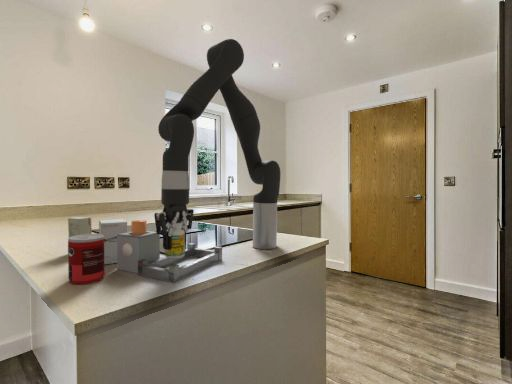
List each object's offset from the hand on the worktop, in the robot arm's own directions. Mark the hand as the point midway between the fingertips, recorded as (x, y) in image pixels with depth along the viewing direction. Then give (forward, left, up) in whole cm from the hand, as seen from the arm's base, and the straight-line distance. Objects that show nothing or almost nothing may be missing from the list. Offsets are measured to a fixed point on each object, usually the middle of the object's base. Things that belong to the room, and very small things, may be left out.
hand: (175, 246), depth 79 cm
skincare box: (+1, -40, -7) cm, 40 cm away
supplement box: (+2, -23, -7) cm, 24 cm away
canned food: (+16, -15, -7) cm, 23 cm away
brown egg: (+3, -11, 0) cm, 11 cm away
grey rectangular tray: (-4, 0, -7) cm, 8 cm away
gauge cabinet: (+3, -11, -7) cm, 13 cm away
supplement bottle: (0, 0, -3) cm, 3 cm away
